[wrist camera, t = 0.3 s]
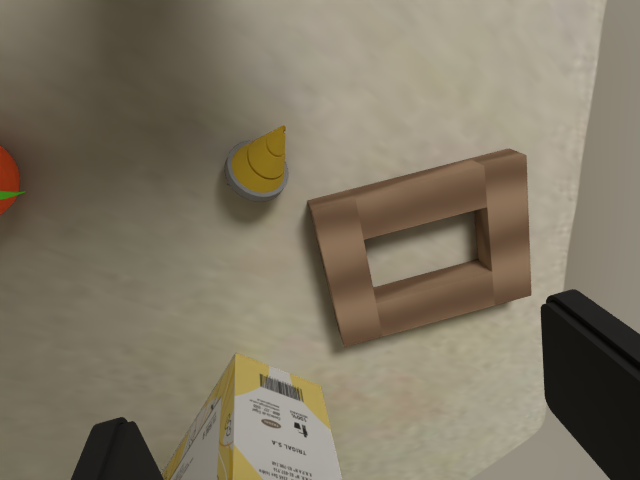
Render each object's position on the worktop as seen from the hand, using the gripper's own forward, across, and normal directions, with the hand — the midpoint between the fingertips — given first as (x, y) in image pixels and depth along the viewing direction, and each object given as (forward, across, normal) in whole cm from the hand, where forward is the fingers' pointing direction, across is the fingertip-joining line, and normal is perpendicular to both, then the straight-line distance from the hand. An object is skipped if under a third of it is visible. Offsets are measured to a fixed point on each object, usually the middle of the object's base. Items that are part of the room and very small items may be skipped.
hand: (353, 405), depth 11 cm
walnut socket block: (+34, -12, +14) cm, 39 cm away
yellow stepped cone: (+34, +2, 0) cm, 34 cm away
